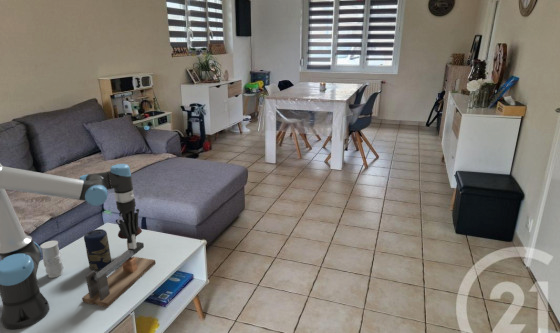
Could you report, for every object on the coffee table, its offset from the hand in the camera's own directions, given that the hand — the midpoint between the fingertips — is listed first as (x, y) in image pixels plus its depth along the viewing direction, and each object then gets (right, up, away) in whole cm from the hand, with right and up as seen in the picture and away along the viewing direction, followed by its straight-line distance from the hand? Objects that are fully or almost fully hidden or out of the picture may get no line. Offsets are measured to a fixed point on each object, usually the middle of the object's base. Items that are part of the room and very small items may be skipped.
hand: (133, 247), depth 165 cm
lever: (-3, -5, -7) cm, 9 cm away
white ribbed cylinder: (-35, -12, +1) cm, 37 cm away
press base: (-3, -13, -5) cm, 15 cm away
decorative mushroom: (-7, -6, +18) cm, 20 cm away
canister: (-18, -10, +7) cm, 21 cm away
